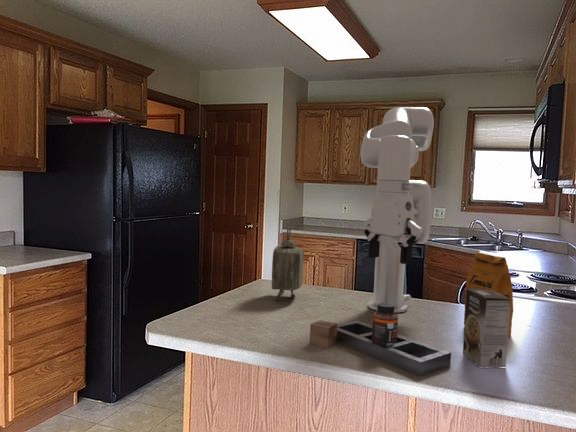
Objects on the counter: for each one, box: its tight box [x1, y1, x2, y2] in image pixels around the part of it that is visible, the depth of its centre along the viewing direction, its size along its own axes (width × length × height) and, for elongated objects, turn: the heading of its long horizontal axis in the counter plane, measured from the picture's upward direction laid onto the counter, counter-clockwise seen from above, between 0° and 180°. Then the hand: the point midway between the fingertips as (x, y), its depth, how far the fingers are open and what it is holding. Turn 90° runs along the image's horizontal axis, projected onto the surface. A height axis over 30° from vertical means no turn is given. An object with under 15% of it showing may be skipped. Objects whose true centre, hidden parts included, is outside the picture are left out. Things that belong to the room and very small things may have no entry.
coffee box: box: [462, 288, 511, 368], centre depth 109 cm, size 9×6×16 cm
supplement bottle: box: [372, 303, 399, 346], centre depth 114 cm, size 6×6×11 cm
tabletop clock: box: [271, 225, 305, 302], centre depth 163 cm, size 14×9×25 cm, turn 172°
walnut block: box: [309, 319, 339, 349], centre depth 118 cm, size 5×5×5 cm
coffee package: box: [463, 251, 514, 338], centre depth 133 cm, size 10×12×22 cm
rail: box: [337, 320, 452, 377], centre depth 114 cm, size 29×11×3 cm, turn 38°
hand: (389, 260), depth 113 cm, fingers open, 9 cm apart
